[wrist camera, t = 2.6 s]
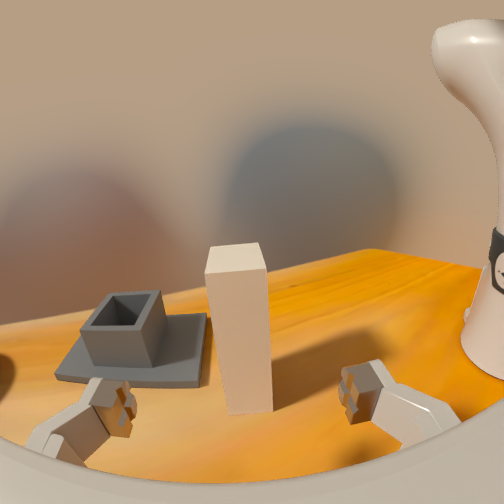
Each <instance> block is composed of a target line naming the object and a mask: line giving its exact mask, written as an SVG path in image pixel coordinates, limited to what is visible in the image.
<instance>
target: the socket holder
mask: <svg viewBox="0 0 504 504" xmlns="http://www.w3.org/2000/svg"><path fill="white" fill-rule="evenodd" d="M206 325H207V314H206V313H195V314H179V315H166V313H165V309H164V304H163V300H162V295H161V291H160V290H152V291H137V292H136V291H135V292H118V293H109V294H108V295H107V296H106V297H105V299H104V300H103V301H102V302H101V303H100V305H99V306H98V307H97V308H96V310H95V311H94V312H93V313H92V315H91V316H90V317H89V319H88V320H87V321H86V322H85V324H84V325H83V326H82V328H81V329H80V333H81V336H80V337H79V339H78V340H77V341H76V343H75V344H74V346H73V347H72V348H71V350H70V351H69V353H68V354H67V355H66V357H65V358H64V360H63V361H62V363H61V364H60V366H59V367H58V369H57V370H56V372H55V373H54V374H55V376H56V378H57V380H62V381H69V382H76V383H85V384H88V383H89V381H90V379H91V378H93V377H97V378H107V379H116V380H126V381H128V383H129V385H130V387H137V388H199V384H200V375H201V366H202V357H203V349H204V341H205V333H206Z"/></svg>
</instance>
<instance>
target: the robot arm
mask: <svg viewBox="0 0 504 504" xmlns="http://www.w3.org/2000/svg"><path fill="white" fill-rule="evenodd" d="M431 56H432V61H433V65H434V68H435V71H436V73H437V75H438V77H439V79H440V81H441V82H442V84H443V85H444V86H445V88H446V89H447V90H448V91H449V92H450V93H451V94H452V95H453V96H454V97H455V98H456V99H457V100H459V101H460V102H461V103H463V104H464V105H465V106H466V107H467V108H468V109H469V110H470V111H471V112H472V113H473V114H474V115H475V116H476V117H477V119H478V120H479V121H480V123H481V124H482V126H483V128H484V129H485V131H486V133H487V134H488V137H489V139H490V141H491V144H492V147H493V150H494V153H495V157H496V162H497V170H498V192H499V193H498V194H499V196H498V216H497V226H496V227H495V228H494V229H493V233H492V238H491V240H490V251H489V260H490V263H489V264H487V265H486V266H485V267H484V268H483V270H482V274H481V277H480V280H479V284H478V287H477V290H476V293H475V296H474V299H473V302H472V305H471V307H470V308H467V309H466V310H465V313H464V315H463V318H464V322H465V326H464V328H463V330H462V332H461V344H462V347H463V349H464V351H465V353H466V354H467V356H468V357H469V358H470V360H471V361H472V362H473V363H474V364H475V365H477V366H478V367H479V368H480V369H482V370H483V371H485V372H486V373H488V374H490V375H492V376H494V377H496V378H499V379H502V380H504V20H496V19H494V20H493V19H473V20H472V19H468V20H464V21H459V22H456V23H452V24H449V25H446V26H443V27H440V28H438V29H437V30H436V32H435V33H434V36H433V39H432V43H431ZM341 376H342V380H341V382H340V383H339V388H338V392H339V399H340V402H341V404H342V405H343V406H344V407H346V412H345V414H346V416H347V418H348V421H349V423H350V425H353V424H358V423H362V422H366V421H371V422H372V423H374V424H375V425H377V426H378V427H380V428H381V429H382V430H384V431H385V432H387V433H388V434H390V435H391V436H393V437H394V438H396V439H397V440H399V441H400V442H402V443H403V444H402V446H401V447H400V449H399V451H396V452H394V453H391V454H388V455H385V456H382V457H379V458H376V459H373V460H369V461H366V462H362V463H359V464H355V465H352V466H348V467H344V468H340V469H335V470H331V471H326V472H321V473H316V474H311V475H306V476H300V477H293V478H286V479H278V480H269V481H259V482H244V483H183V482H169V481H158V480H150V479H142V478H135V477H129V476H123V475H117V474H112V473H107V472H103V471H98V470H94V469H90V468H88V467H87V466H86V465H85V464H84V461H85V460H86V459H87V458H88V457H89V456H90V455H92V454H93V453H94V452H95V451H96V450H97V449H98V448H99V447H100V446H101V445H102V444H103V443H104V442H105V441H106V440H107V439H109V438H110V436H116V437H125V438H129V437H130V433H131V430H132V427H133V425H132V423H131V420H133V419H134V418H135V417H136V413H137V403H136V399H135V397H134V395H133V394H131V393H130V392H129V391H130V388H131V387H130V385H129V383H128V381H126V380H116V379H107V378H97V377H93V378H91V379H90V381H89V383H88V385H87V387H86V388H85V390H84V392H83V394H82V396H81V398H80V400H79V402H78V403H74V404H72V405H70V406H69V407H67V408H65V409H64V410H62V411H61V412H59V413H57V414H56V415H54V416H52V417H51V418H49V419H47V420H46V421H44V422H42V423H41V424H39V425H37V426H36V427H35V428H34V430H33V432H32V433H31V435H30V437H29V439H28V441H27V443H26V445H25V446H24V447H23V446H21V445H18V444H16V443H14V442H11V441H9V440H7V439H5V438H3V437H1V436H0V504H504V398H502V399H501V400H499V401H498V402H496V403H494V404H493V405H491V406H490V407H488V408H486V409H485V410H483V411H482V412H480V413H478V414H476V415H475V416H473V417H471V418H469V419H467V420H466V421H464V422H461V421H460V420H459V418H458V417H457V416H456V414H455V413H454V412H453V410H452V409H451V408H450V406H449V405H448V404H447V403H445V402H443V401H441V400H438V399H436V398H433V397H431V396H429V395H426V394H424V393H422V392H419V391H417V390H415V389H412V388H410V387H408V386H406V385H403V384H401V383H399V384H397V383H396V381H395V380H394V379H393V377H392V376H391V374H390V373H389V371H388V370H387V369H386V367H385V366H384V364H383V363H382V361H381V360H379V359H376V360H372V361H368V362H364V363H360V364H355V365H350V366H345V367H343V368H342V370H341Z"/></svg>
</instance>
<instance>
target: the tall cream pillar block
mask: <svg viewBox="0 0 504 504" xmlns="http://www.w3.org/2000/svg"><path fill="white" fill-rule="evenodd" d="M205 281H206V288H207V295H208V302H209V308H210V315H211V321H212V327H213V333H214V339H215V345H216V351H217V357H218V362H219V368H220V373H221V378H222V384H223V389H224V394H225V399H226V404H227V409H228V414H229V416H230V415H245V414H256V413H266V412H273V393H272V368H271V346H270V325H269V305H268V286H267V268H266V265H265V262H264V259H263V256H262V253H261V250H260V247H259V244H258V243H249V244H238V245H226V246H215V247H210V252H209V256H208V260H207V265H206V270H205Z"/></svg>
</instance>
